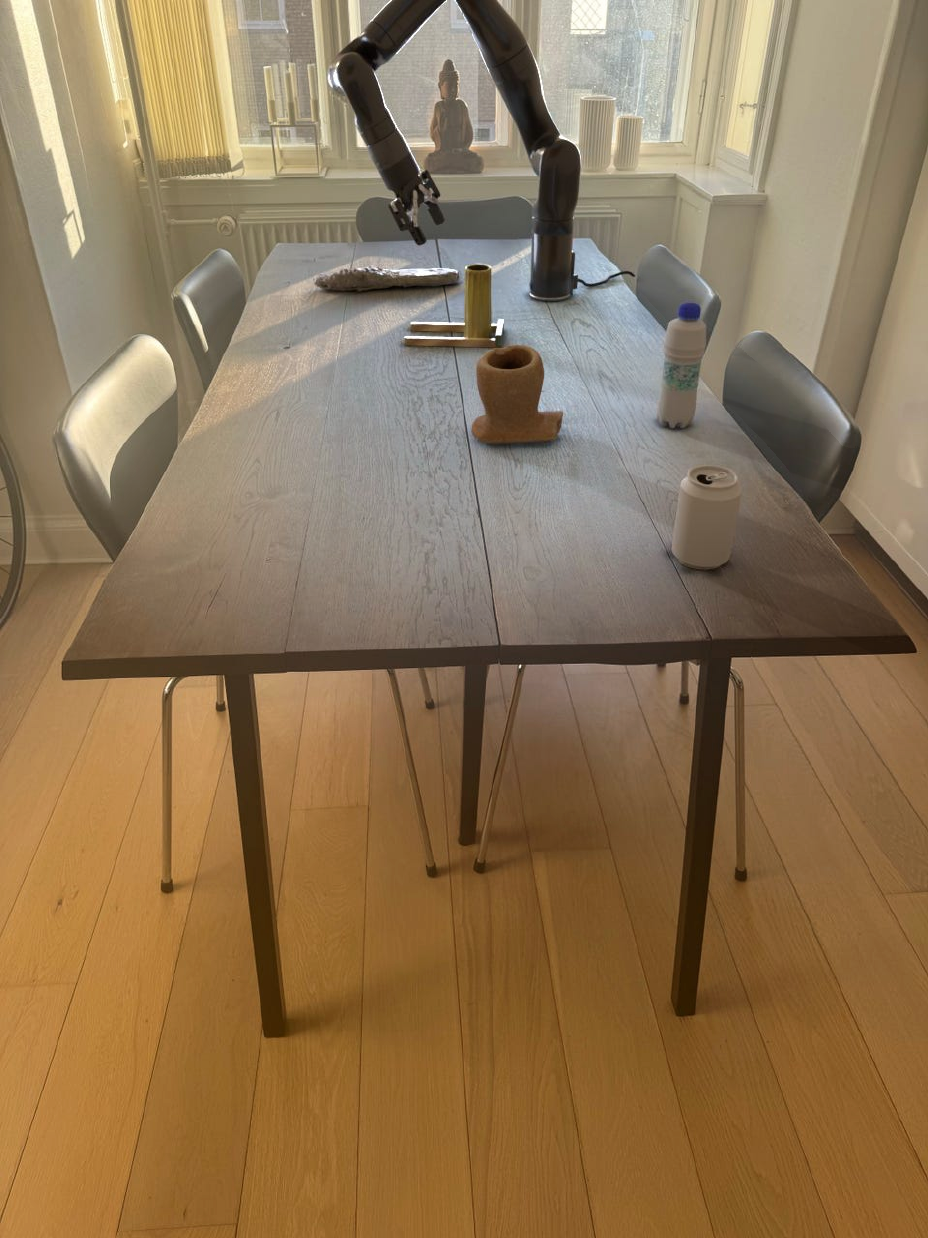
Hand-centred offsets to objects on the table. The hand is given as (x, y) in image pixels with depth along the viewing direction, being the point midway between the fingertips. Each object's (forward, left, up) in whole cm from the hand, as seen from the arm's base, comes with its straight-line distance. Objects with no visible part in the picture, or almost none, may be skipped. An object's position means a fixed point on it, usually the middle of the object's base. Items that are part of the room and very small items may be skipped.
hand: (431, 233), depth 197 cm
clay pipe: (+27, +61, -18) cm, 69 cm away
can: (+32, +104, -18) cm, 110 cm away
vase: (+1, +17, -18) cm, 25 cm away
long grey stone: (-5, -26, -18) cm, 32 cm away
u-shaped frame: (+5, +14, -17) cm, 23 cm away
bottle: (+2, +72, -18) cm, 74 cm away
